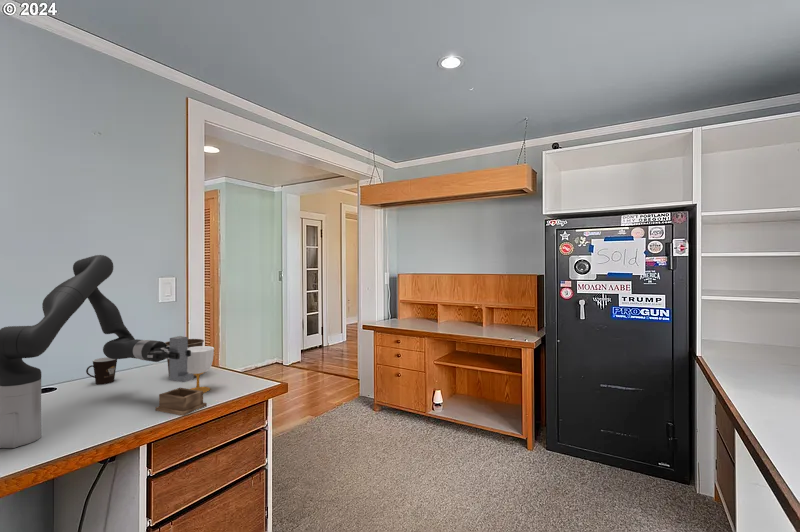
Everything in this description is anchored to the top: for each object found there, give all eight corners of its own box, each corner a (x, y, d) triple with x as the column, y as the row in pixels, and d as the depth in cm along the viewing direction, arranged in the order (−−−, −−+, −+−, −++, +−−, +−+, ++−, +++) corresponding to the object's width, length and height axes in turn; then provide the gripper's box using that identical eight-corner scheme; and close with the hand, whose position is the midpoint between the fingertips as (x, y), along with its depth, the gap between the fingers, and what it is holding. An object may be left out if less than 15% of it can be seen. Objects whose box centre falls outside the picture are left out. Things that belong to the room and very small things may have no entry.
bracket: (183, 382, 138) (184, 339, 138) (169, 379, 140) (169, 337, 140) (193, 379, 142) (193, 337, 141) (179, 377, 144) (179, 336, 144)
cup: (204, 384, 168) (204, 344, 168) (219, 389, 162) (219, 348, 162) (175, 391, 159) (176, 349, 159) (191, 397, 152) (191, 353, 152)
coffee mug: (113, 378, 177) (113, 356, 177) (119, 382, 172) (120, 359, 172) (81, 384, 168) (81, 360, 168) (86, 388, 163) (86, 364, 163)
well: (182, 415, 134) (182, 399, 134) (155, 410, 138) (155, 394, 138) (206, 405, 143) (206, 390, 143) (180, 401, 148) (180, 386, 148)
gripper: (131, 344, 140) (166, 348, 134) (167, 337, 153) (201, 340, 147) (131, 365, 140) (166, 370, 134) (167, 356, 153) (200, 360, 147)
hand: (184, 354), depth 140 cm, fingers closed on bracket, 4 cm apart
